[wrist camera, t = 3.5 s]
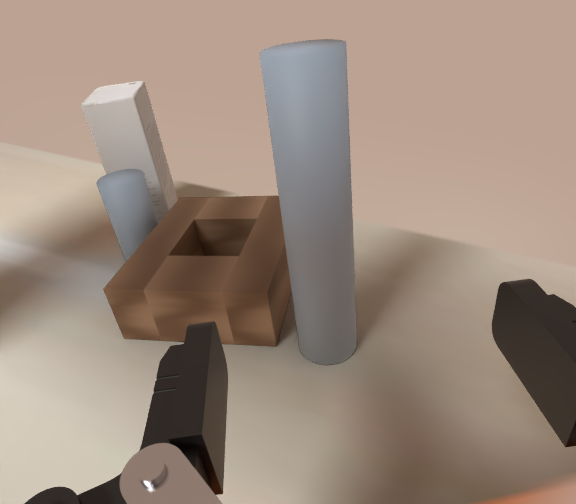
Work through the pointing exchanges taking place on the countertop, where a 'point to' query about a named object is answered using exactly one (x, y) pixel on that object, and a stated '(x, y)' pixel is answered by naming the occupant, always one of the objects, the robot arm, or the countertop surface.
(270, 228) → the socket block
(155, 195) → the skincare box
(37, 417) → the countertop surface
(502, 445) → the countertop surface
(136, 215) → the short pin
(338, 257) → the long pin
